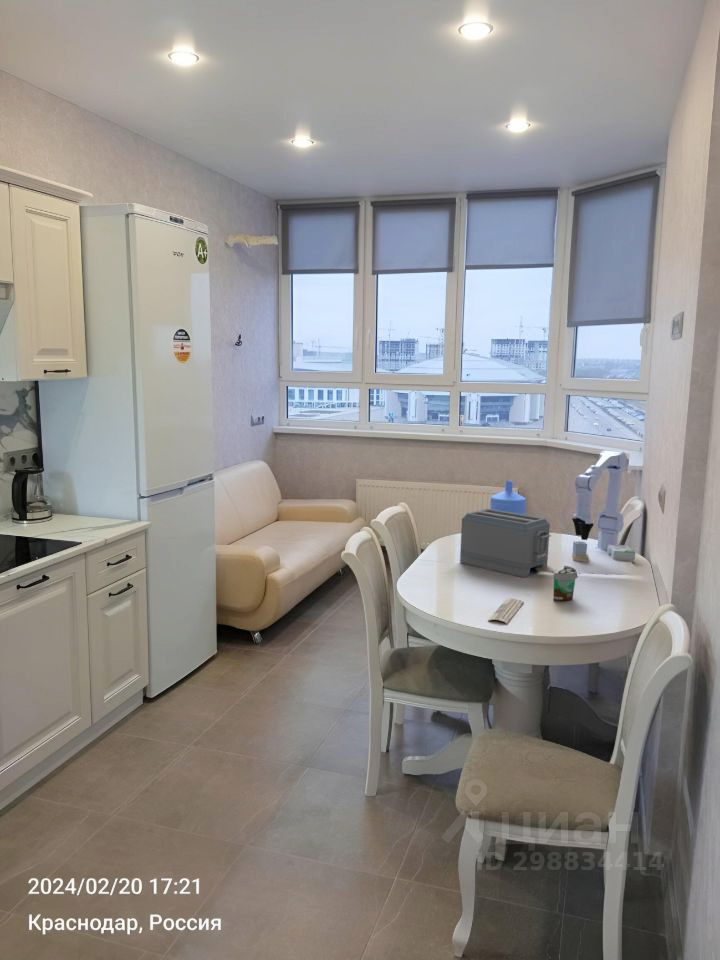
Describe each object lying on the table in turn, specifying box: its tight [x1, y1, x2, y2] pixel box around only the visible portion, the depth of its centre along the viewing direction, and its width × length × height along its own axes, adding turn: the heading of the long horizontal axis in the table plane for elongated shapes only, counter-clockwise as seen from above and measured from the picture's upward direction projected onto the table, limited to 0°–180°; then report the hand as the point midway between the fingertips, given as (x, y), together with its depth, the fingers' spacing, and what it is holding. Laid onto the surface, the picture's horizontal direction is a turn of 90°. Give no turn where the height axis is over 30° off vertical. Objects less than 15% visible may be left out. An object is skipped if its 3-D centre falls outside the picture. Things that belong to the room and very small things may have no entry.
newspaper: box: [487, 598, 525, 625], centre depth 234 cm, size 24×7×2 cm, turn 155°
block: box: [572, 540, 588, 556], centre depth 296 cm, size 4×4×5 cm
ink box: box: [606, 544, 636, 564], centre depth 303 cm, size 9×5×12 cm
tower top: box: [572, 552, 590, 562], centre depth 296 cm, size 6×6×2 cm
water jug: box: [489, 480, 527, 515], centre depth 325 cm, size 16×16×28 cm
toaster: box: [459, 508, 552, 578], centre depth 286 cm, size 19×33×20 cm, turn 47°
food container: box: [552, 565, 579, 603], centre depth 248 cm, size 12×6×10 cm, turn 148°
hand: (581, 537), depth 295 cm, fingers open, 7 cm apart
